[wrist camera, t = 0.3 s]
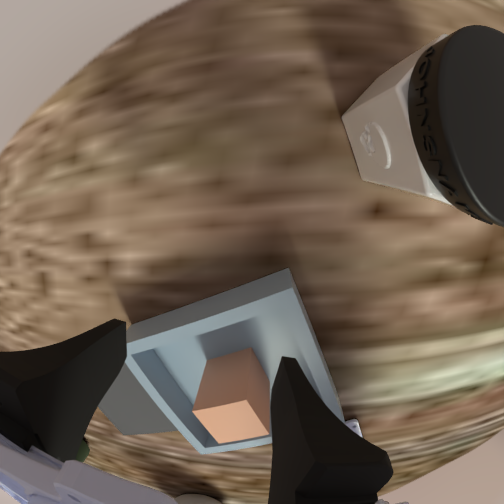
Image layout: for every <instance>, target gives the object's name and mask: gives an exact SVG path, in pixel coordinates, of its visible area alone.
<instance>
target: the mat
mask: <svg viewBox="0 0 504 504" xmlns="http://www.w3.org/2000/svg"><path fill="white" fill-rule="evenodd" d="M98 407H99V409H100V410H101V411H102V412H103V413H104V414H105V415H106V417H107V418H108V419H109V420H110V421H111V422H112V423H113V424H114V425H115V427H116V428H117V429H118V430H119V431H120V432H121V433H122V434H123V435H135V434H149V433H160V432H170V431H178V429H177V428H176V427H175V426H174V425H173V423H172V422H171V421H170V420H169V419H168V418H167V416H166V415H165V414H164V413H163V412H162V410H161V409H160V408H159V407H158V406H157V404H156V403H155V402H154V401H153V399H152V398H151V397H150V395H149V394H148V393H147V392H146V390H145V389H144V388H143V386H142V385H141V384H140V382H139V381H138V380H137V378H136V377H135V376H134V374H133V373H132V372H131V370H130V369H129V367H128V366H127V365H126V363H125V362H124V365H123V367H122V369H121V371H120V373H119V374H118V376H117V377H116V379H115V380H114V382H113V384H112V385H111V387H110V388H109V390H108V391H107V393H106V394H105V396H104V397H103V399H102V400H101V402H100V403H99V405H98Z"/></svg>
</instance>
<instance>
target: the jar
mask: <svg viewBox="0 0 504 504" xmlns="http://www.w3.org/2000/svg"><path fill="white" fill-rule="evenodd" d="M342 121H343V124H344V126H345V129H346V132H347V135H348V138H349V141H350V144H351V147H352V150H353V153H354V156H355V160H356V163H357V166H358V169H359V173H360V176H361V179H362V180H363V181H367V182H370V183H374V184H377V185H381V186H384V187H388V188H391V189H394V190H398V191H401V192H404V193H408V194H411V195H414V196H417V197H421V198H424V199H427V200H431V201H434V202H437V203H440V204H444V205H447V206H450V207H453V208H456V209H459V210H461V211H462V212H465V213H466V214H468V215H471V217H473V218H475V219H478V220H480V221H483V222H486V223H488V224H491V225H492V224H493V223H494V224H496V225H499V226H502V227H504V33H502V32H500V31H498V30H495V29H493V28H490V27H487V26H481V25H472V26H466V27H463V28H461V29H459V30H457V31H455V32H454V33H452V34H450V35H447V34H442V35H440V36H439V37H437V38H436V39H434V40H433V41H431V42H429V43H428V44H426V45H425V46H423V47H422V48H420V49H419V50H417V51H416V52H414V53H413V54H411V55H410V56H408V57H407V58H405V59H404V60H402V61H401V62H399V63H398V64H396V65H395V66H393V67H392V68H391V69H389V70H388V71H386V72H385V73H383V74H382V75H380V76H379V77H378V78H377V79H376V80H375V81H374V82H373V83H372V84H371V85H370V86H369V87H368V88H367V90H366V91H365V92H364V93H363V94H362V95H361V96H360V97H359V98H358V99H357V100H356V101H355V102H354V103H353V104H352V106H351V107H350V108H349V109H348V110H347V111H346V112H345V113H344V114H343V115H342Z"/></svg>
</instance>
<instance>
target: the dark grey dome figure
mask: <svg viewBox="0 0 504 504" xmlns="http://www.w3.org/2000/svg"><path fill="white" fill-rule="evenodd" d="M175 500H176V502H177V503H178V504H222V503H220V502H219V501H217V500H216V499H214V498H211V497H209V496H205V495H201V494H184V495H181V496H178V497H176V498H175Z"/></svg>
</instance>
